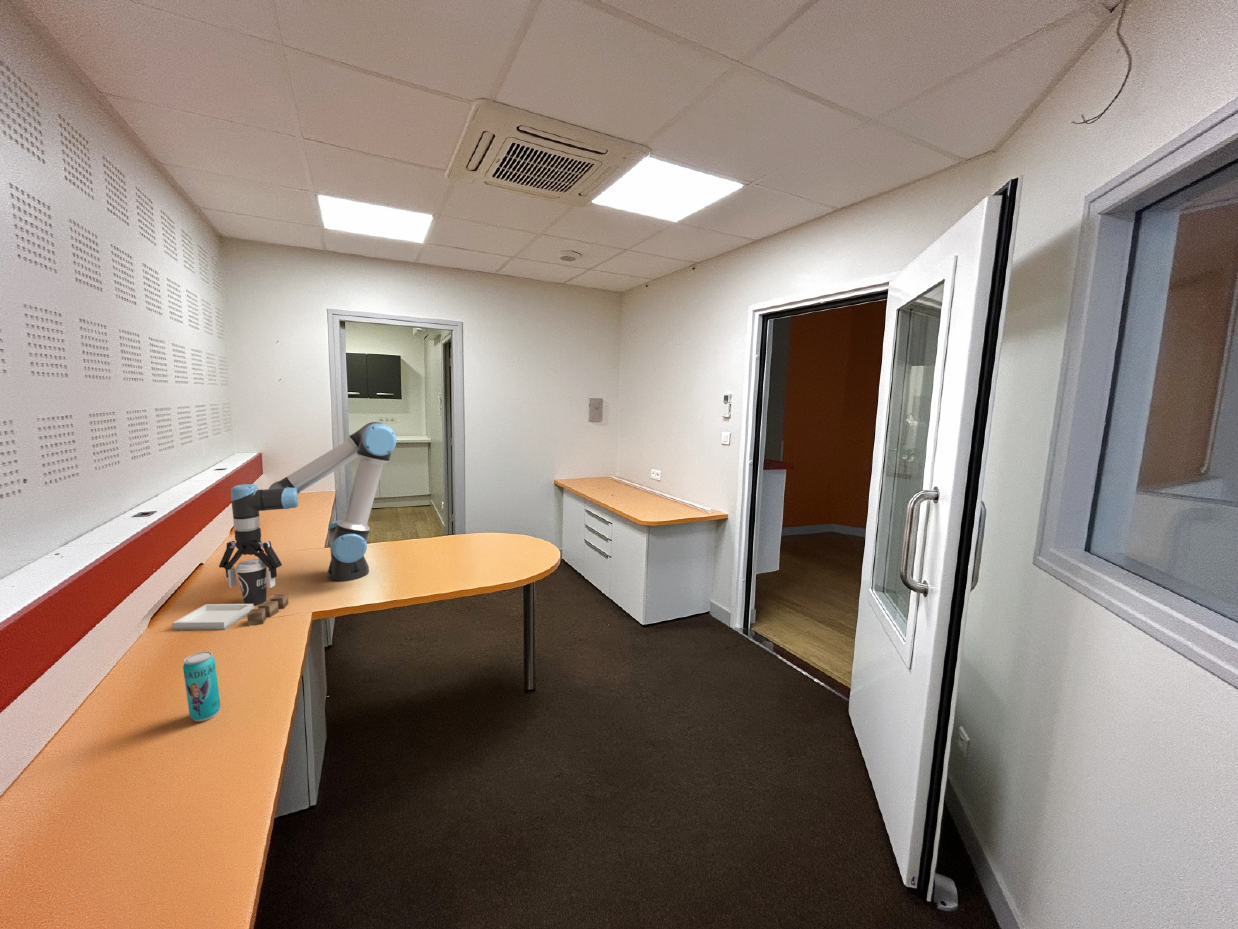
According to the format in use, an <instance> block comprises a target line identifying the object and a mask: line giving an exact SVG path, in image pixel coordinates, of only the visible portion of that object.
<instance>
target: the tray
mask: <svg viewBox="0 0 1238 929" xmlns="http://www.w3.org/2000/svg"><path fill="white" fill-rule="evenodd" d="M252 609H255V606H253V604H244V603H206V604H203V605H202V606H200V607H198V608H196V609H194V610H192V611H191V612H189V613H187V614H185V615H183V616H182V617H180V618H178V619H177V620H175V621H173V622H172V624H171V625H172V631H210V630H212V631H215V630H216V631H219V630H220V631H223V630H224V631H225V630H226V629H228V628H229V627H230V626H231V627H232V625H234V624H236V623H237V622H238V621H240V620H242V619H243V618H244V617H247V614H248V613H249V611H250V610H252Z"/></svg>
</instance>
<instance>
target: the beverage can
mask: <svg viewBox="0 0 1238 929" xmlns="http://www.w3.org/2000/svg"><path fill="white" fill-rule="evenodd" d="M216 665H217V664H216V659H215V657H214V656H213V652H212V651H201V652H196V653H193V654H190V655H189V656H187V657H186V658H184V659H183V666H182V669H183V676H184V678H183V679H184V683H185V684H184V686H185V691H186V692H185V693H186V700H187V706H188V712H189V713H188V714H189V716H190V718H191V719H192V720H193V721H194V722H196V723H200V722H201V723H202V722H206V721H209V720H211V719H213V718H214V717H216V716H217V715H218V713H219V711H220V708H221V698H220V690H219V683H218V681H219V680H218V673H217V667H216Z"/></svg>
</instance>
